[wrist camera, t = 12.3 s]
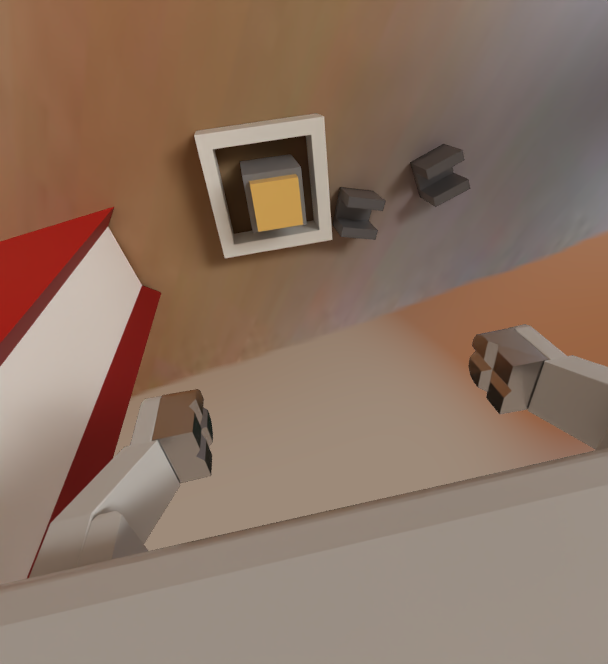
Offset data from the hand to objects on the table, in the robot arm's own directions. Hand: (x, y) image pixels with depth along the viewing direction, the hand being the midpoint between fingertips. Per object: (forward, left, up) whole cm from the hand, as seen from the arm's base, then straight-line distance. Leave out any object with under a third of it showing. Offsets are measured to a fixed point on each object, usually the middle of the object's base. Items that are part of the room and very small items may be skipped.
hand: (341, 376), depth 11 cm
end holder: (0, 0, -24) cm, 24 cm away
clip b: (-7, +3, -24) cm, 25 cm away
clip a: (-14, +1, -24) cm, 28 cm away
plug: (0, 0, -24) cm, 24 cm away
